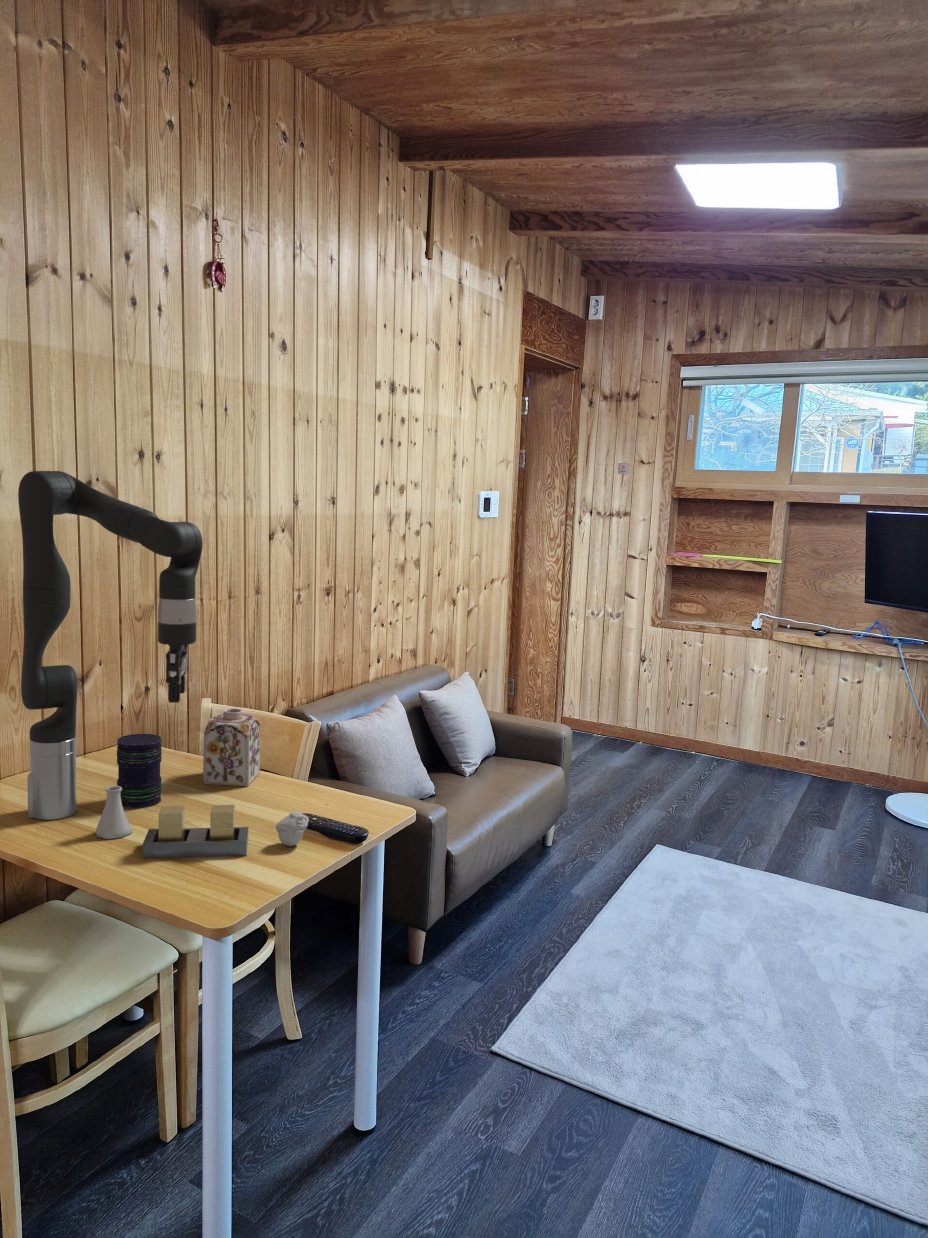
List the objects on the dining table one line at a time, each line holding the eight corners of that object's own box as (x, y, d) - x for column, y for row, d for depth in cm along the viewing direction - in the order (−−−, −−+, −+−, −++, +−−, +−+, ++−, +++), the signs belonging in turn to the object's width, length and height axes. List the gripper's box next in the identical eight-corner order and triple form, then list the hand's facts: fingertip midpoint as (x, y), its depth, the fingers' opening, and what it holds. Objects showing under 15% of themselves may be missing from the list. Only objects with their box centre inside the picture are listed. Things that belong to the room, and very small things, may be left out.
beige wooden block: (232, 850, 183) (233, 812, 182) (210, 850, 182) (210, 812, 181) (234, 841, 187) (234, 804, 186) (211, 842, 186) (212, 805, 185)
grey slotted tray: (142, 858, 178) (142, 844, 177) (148, 843, 185) (149, 829, 185) (246, 855, 182) (246, 841, 181) (248, 840, 189) (248, 827, 189)
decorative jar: (216, 770, 235) (217, 703, 233) (260, 773, 235) (262, 706, 232) (201, 785, 223) (202, 714, 221) (248, 787, 223) (249, 717, 221)
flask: (120, 824, 195) (120, 780, 194) (138, 833, 190) (138, 788, 189) (88, 833, 189) (88, 787, 188) (106, 842, 185) (106, 796, 183)
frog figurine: (312, 847, 187) (313, 815, 186) (280, 853, 184) (280, 820, 183) (302, 837, 192) (303, 806, 192) (270, 842, 189) (271, 810, 188)
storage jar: (132, 811, 203) (132, 747, 201) (108, 801, 209) (107, 739, 207) (170, 801, 211) (170, 739, 209) (145, 791, 217) (146, 731, 215)
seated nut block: (158, 852, 180) (158, 813, 179) (161, 843, 184) (161, 806, 183) (181, 851, 181) (182, 813, 180) (184, 843, 185) (184, 805, 184)
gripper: (192, 625, 177) (191, 705, 179) (199, 615, 191) (199, 690, 193) (152, 624, 176) (152, 705, 178) (162, 614, 189) (162, 690, 192)
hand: (176, 697), depth 185 cm, fingers open, 8 cm apart
